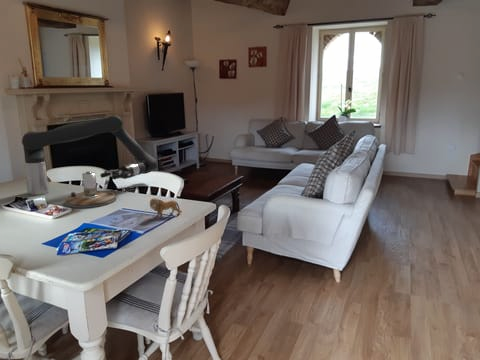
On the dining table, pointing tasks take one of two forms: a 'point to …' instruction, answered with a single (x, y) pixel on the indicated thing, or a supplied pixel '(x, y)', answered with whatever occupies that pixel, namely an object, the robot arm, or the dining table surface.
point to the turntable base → (91, 205)
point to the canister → (89, 185)
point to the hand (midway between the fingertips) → (106, 176)
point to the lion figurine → (164, 206)
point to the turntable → (81, 201)
